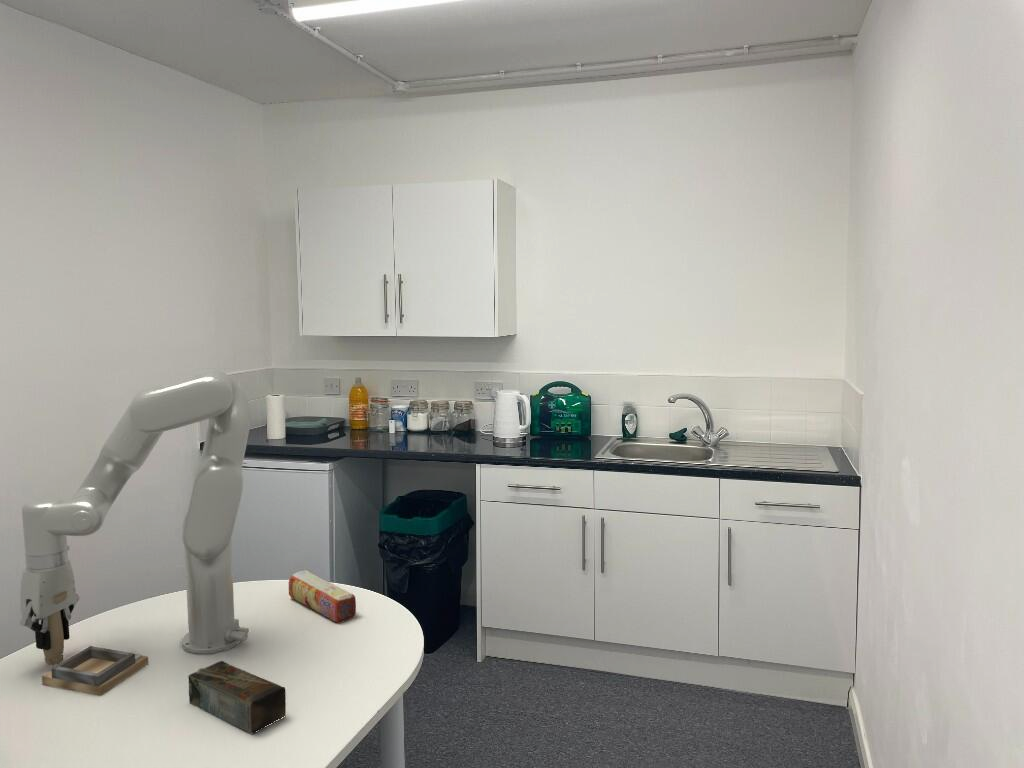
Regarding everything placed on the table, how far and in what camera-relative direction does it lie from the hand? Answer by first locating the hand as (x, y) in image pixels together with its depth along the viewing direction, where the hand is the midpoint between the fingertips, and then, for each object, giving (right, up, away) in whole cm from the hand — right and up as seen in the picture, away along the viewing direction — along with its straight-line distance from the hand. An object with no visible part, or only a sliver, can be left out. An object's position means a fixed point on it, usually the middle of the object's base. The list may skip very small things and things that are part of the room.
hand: (53, 642), depth 170 cm
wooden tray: (+11, -5, -4) cm, 13 cm away
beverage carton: (+44, -8, -17) cm, 47 cm away
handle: (0, -4, +1) cm, 5 cm away
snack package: (+49, -1, +29) cm, 57 cm away
